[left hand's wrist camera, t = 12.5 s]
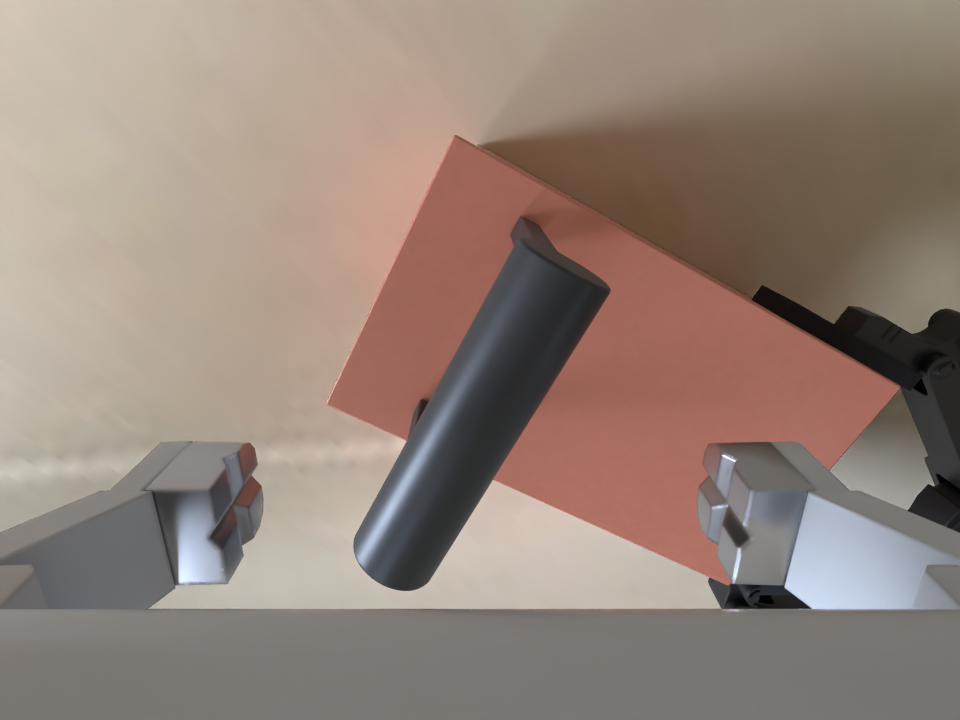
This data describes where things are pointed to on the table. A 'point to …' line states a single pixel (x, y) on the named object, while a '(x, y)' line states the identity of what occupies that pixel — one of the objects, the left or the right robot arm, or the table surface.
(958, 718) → the left robot arm
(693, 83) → the table surface
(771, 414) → the lid
